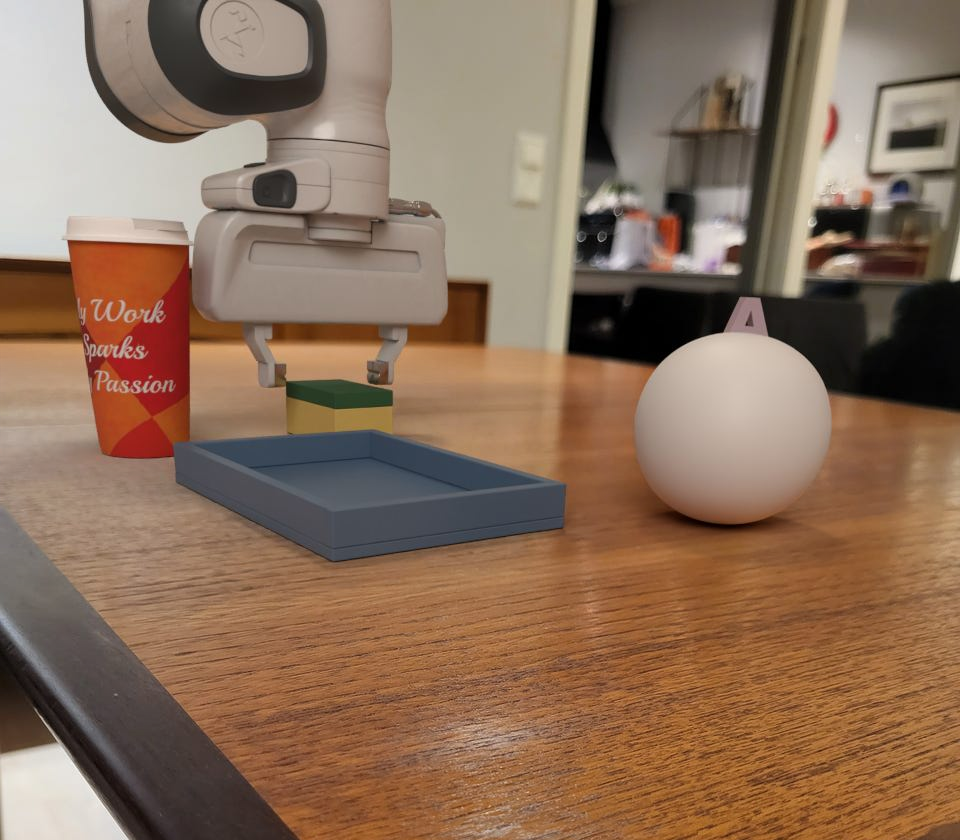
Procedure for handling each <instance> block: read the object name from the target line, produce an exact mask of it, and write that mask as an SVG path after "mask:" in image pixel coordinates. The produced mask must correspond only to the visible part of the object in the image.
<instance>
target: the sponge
mask: <svg viewBox="0 0 960 840" xmlns="http://www.w3.org/2000/svg"><path fill="white" fill-rule="evenodd" d="M393 404H394V390H392V389H388V388H384V387H379V386H376V385H371V384H365V383H361V382H360V383H359V382H355V381H351V380H347V379H341V378H338V379H337V378H335V379H334V378H333V379H332V378H331V379H307V380H304V379H303V380H286V386H285V412H286V417H285V418H286V433H288V434H290V435H293V434H308V433H323V432H338V431H353V430H368V429H375V430H378V431H382V432H386V433H389V434H393V435H394V432H393V431H394V405H393Z"/></svg>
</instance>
